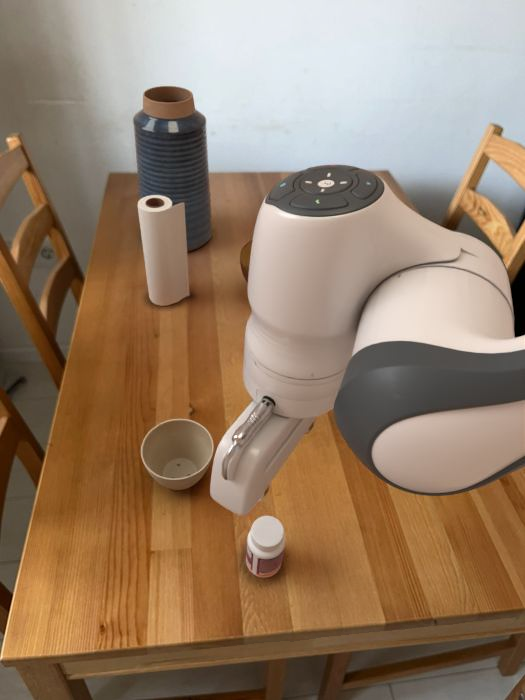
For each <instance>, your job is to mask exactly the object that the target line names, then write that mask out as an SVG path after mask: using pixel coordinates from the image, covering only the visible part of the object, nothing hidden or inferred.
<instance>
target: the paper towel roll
mask: <svg viewBox="0 0 525 700" xmlns="http://www.w3.org/2000/svg"><path fill="white" fill-rule="evenodd" d="M137 211H138V219H139V220H138V221H139V228H140V237H141V245H142V251H143V252H142V253H143V260H144V267H145V274H146V275H145V276H146V283H147V290H148V298H149V300H150V302H151V303H152V304H154V305H157V306H161V307H162V306H170V305H173V304H176V303H179V302H180V301H181V300H183V299H184V298H186V297H189V296H190V278H189V263H188V262H189V261H188V251H187V241H186V223H185V205H184V203H180V204H177V205H175V206H174V207H172V201H171V200H170V199H169V198H167V197H165V196H161V195H150V196H146V197H143V198H141V199H139V200H138V201H137Z"/></svg>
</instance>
